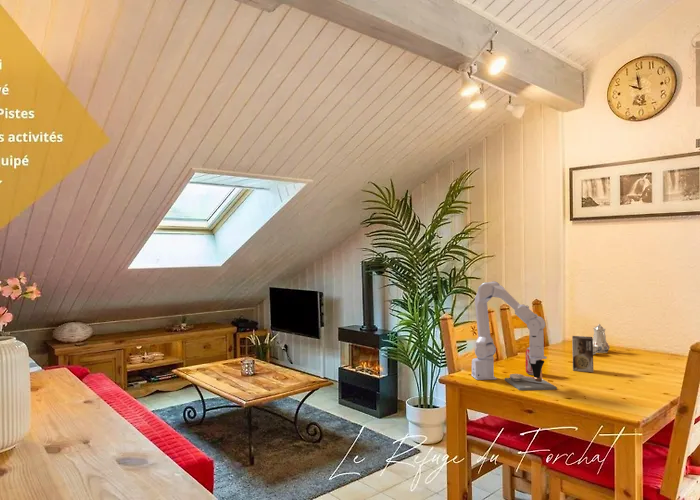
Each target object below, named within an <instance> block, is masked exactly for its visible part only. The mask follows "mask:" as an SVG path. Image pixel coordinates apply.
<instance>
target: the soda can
mask: <svg viewBox="0 0 700 500" xmlns="http://www.w3.org/2000/svg"><path fill="white" fill-rule="evenodd" d="M529 348H530V347H526V350H525V372H526V374H528V375H532V376H534V375H533V370H532V367H531V365H530V363H529V360H530V358H529V355H530V349H529ZM541 360H543V359H541ZM542 369H543V368H542ZM542 369H541V370H542ZM542 371H543V370H542Z"/></svg>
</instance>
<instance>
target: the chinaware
mask: <svg viewBox="0 0 700 500" xmlns="http://www.w3.org/2000/svg"><path fill="white" fill-rule="evenodd" d="M592 330H593V336H592V338H593V356H594V355H596V354H608V351H610V349H611V348H610V345H609V343H608V341H607V339H606V338H607V335H606V328H604V327H603V326H602V325H601V324H600V323H598V324H597V326H593V328H592Z"/></svg>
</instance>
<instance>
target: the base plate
mask: <svg viewBox="0 0 700 500" xmlns="http://www.w3.org/2000/svg"><path fill="white" fill-rule="evenodd" d="M504 381H505V382H507V383H508V384H510V385H511V386H512V387H514V388H515V389H517V390H518V391H543V390H544V391H549V390H551V391H552V390H555V389H556V390H557V389H558V387H557V386H555V385H554V384H552V383H550V382H549V381H547V380H545V379H543V378H542V382H537V381H531V380H524V379H522V380H516V379H511V378H510V377H505V378H504ZM556 390H555V391H556Z"/></svg>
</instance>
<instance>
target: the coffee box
mask: <svg viewBox="0 0 700 500" xmlns="http://www.w3.org/2000/svg"><path fill="white" fill-rule="evenodd" d="M571 341H572V342H571V343H572V345H571V346H572V371H574V372H589V373H594V355H593V336H583V335H581V336H580V335H572V340H571Z"/></svg>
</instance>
